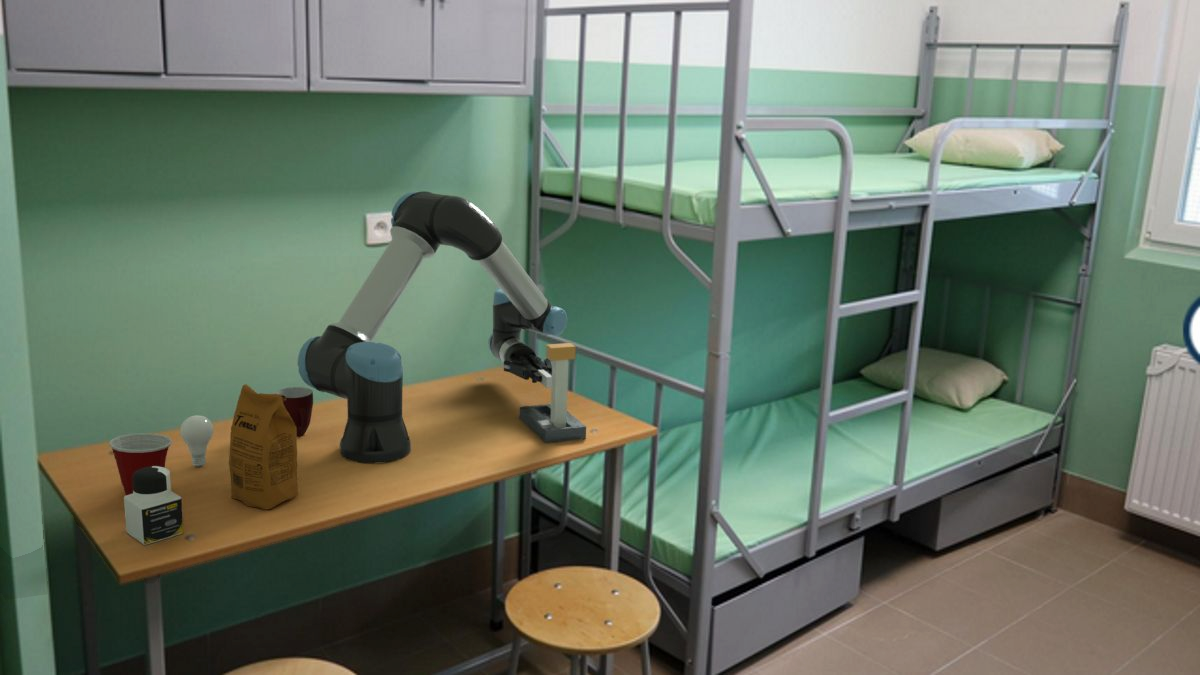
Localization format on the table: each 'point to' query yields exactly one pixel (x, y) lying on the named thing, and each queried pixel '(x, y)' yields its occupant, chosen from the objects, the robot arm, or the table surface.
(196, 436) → the lightbulb
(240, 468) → the coffee package
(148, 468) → the medicine bottle
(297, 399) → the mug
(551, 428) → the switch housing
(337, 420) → the table surface
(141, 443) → the plastic cup
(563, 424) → the lever
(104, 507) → the table surface
